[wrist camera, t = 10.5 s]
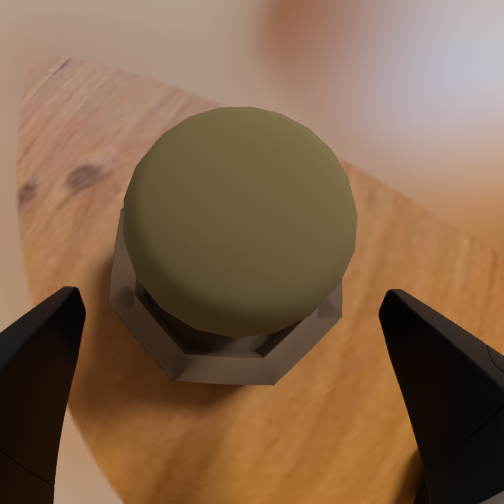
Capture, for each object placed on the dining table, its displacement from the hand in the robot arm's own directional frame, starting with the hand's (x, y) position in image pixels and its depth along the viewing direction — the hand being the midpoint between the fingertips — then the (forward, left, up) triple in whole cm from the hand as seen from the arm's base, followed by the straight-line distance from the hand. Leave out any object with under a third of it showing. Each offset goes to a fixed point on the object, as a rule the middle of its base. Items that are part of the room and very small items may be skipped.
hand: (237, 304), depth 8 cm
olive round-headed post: (+2, 0, -8) cm, 8 cm away
